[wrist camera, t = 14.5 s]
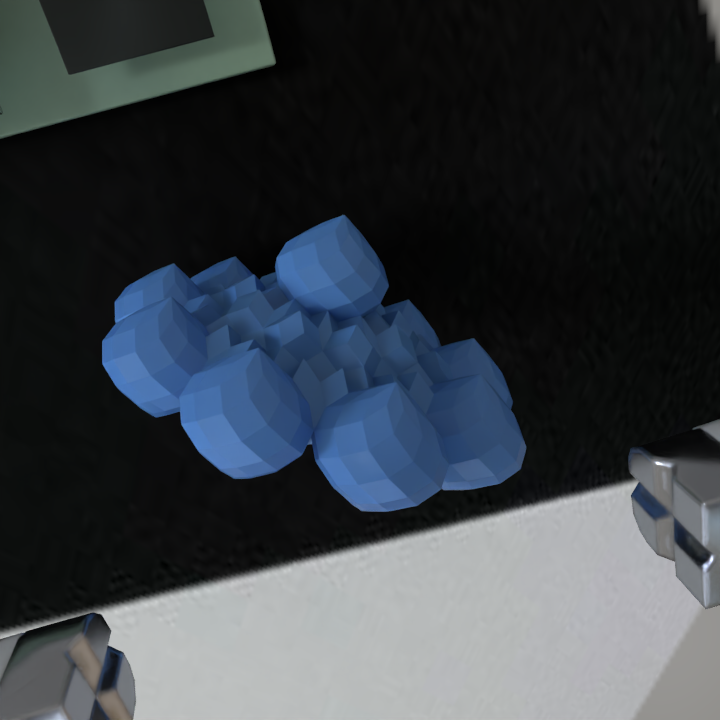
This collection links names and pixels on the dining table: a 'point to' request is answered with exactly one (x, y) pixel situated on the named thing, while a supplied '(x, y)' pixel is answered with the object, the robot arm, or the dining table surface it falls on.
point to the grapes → (315, 374)
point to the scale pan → (122, 29)
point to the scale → (116, 65)
